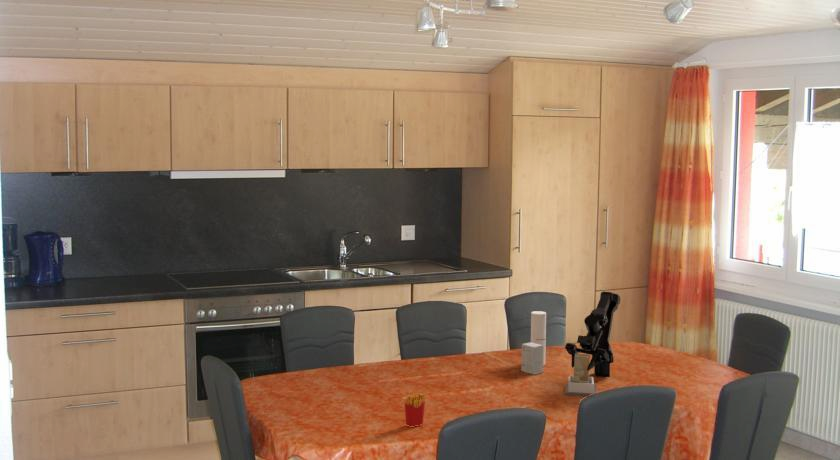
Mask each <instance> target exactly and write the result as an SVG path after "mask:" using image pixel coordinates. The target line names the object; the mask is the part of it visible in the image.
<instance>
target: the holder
mask: <svg viewBox="0 0 840 460" xmlns="http://www.w3.org/2000/svg"><path fill="white" fill-rule="evenodd" d="M567 380H568V383H565V389H564V390H565V394H564V395H565V396H576V397H577V396H578V397H589V396H588V395H590V394H593V393H596V392H597V385H596V384H595V382H594V381H595V380H594V376H589V380H588V383H574V375H568V379H567Z"/></svg>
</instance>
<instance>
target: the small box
mask: <svg viewBox="0 0 840 460" xmlns="http://www.w3.org/2000/svg"><path fill="white" fill-rule="evenodd" d="M520 365H521V369H520V370H521V372H524V373H526V374H530V375H538V374H541V373H543V372H544V365H543V345H540V344H536V343H532V342H531V341H530V342H525V343H521V364H520Z"/></svg>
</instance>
